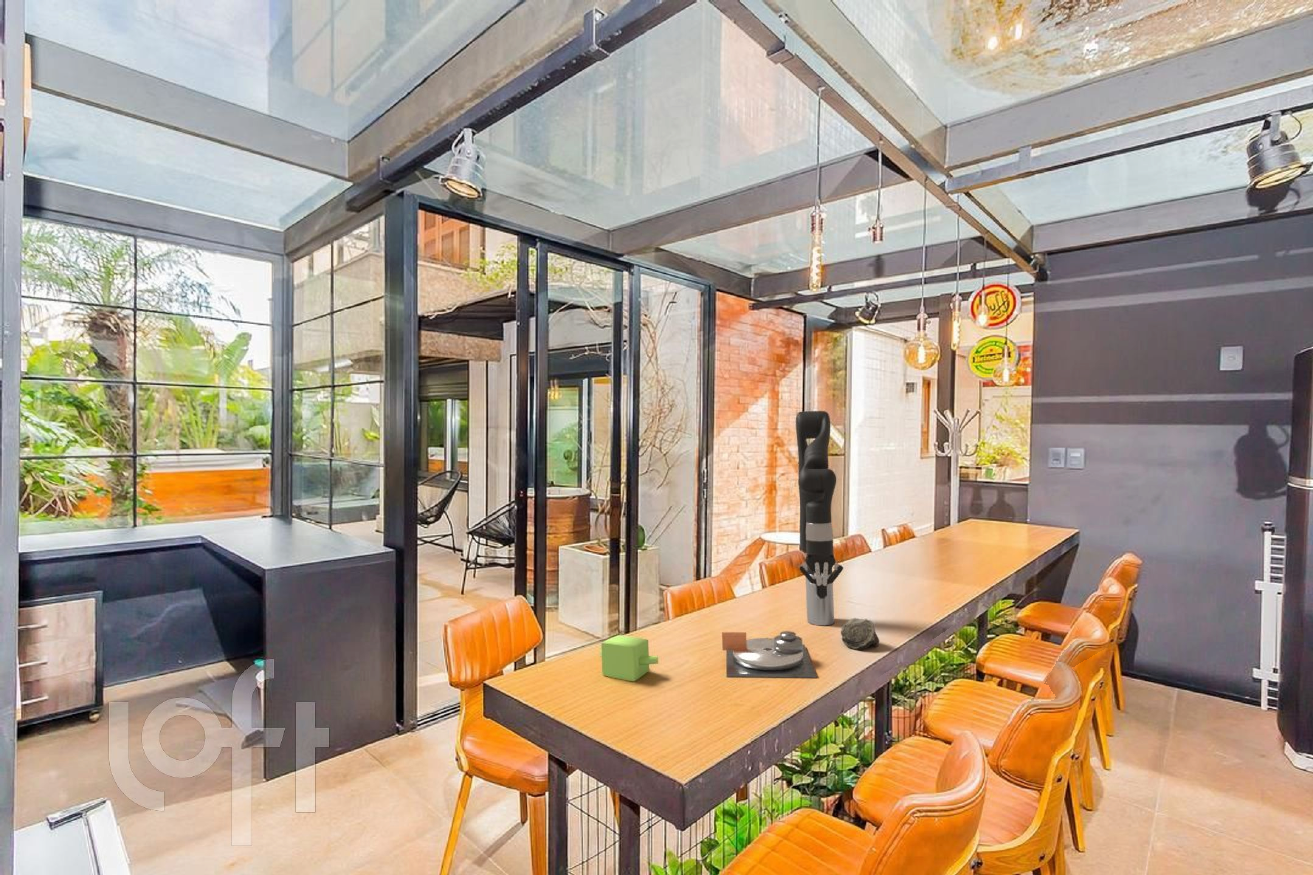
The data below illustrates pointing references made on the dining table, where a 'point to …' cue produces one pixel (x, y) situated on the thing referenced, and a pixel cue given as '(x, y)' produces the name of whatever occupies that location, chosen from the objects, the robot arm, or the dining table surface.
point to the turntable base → (798, 671)
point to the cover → (788, 643)
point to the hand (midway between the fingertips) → (821, 597)
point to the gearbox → (626, 657)
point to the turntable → (758, 652)
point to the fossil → (859, 634)
